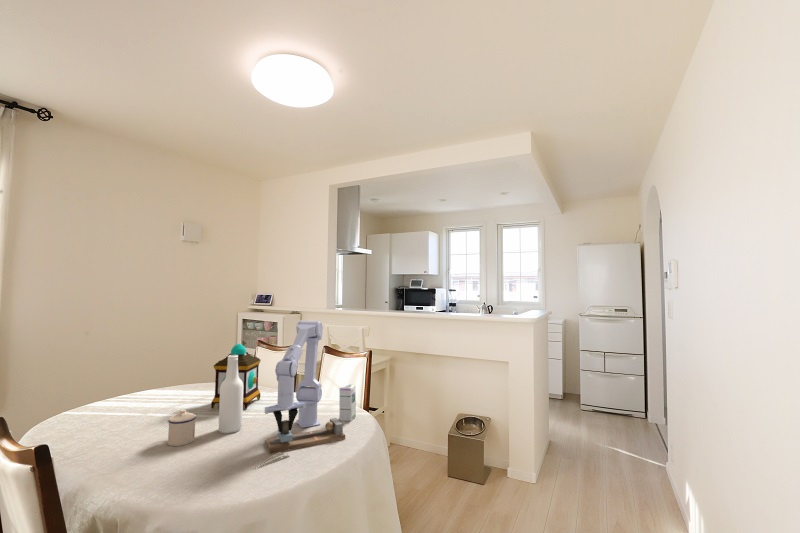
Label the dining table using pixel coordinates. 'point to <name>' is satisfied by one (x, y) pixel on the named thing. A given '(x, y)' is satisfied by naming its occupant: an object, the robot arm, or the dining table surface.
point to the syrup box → (347, 403)
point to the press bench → (308, 438)
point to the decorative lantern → (245, 373)
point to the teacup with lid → (181, 428)
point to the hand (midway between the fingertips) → (284, 430)
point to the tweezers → (273, 459)
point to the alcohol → (231, 399)
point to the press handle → (284, 432)
